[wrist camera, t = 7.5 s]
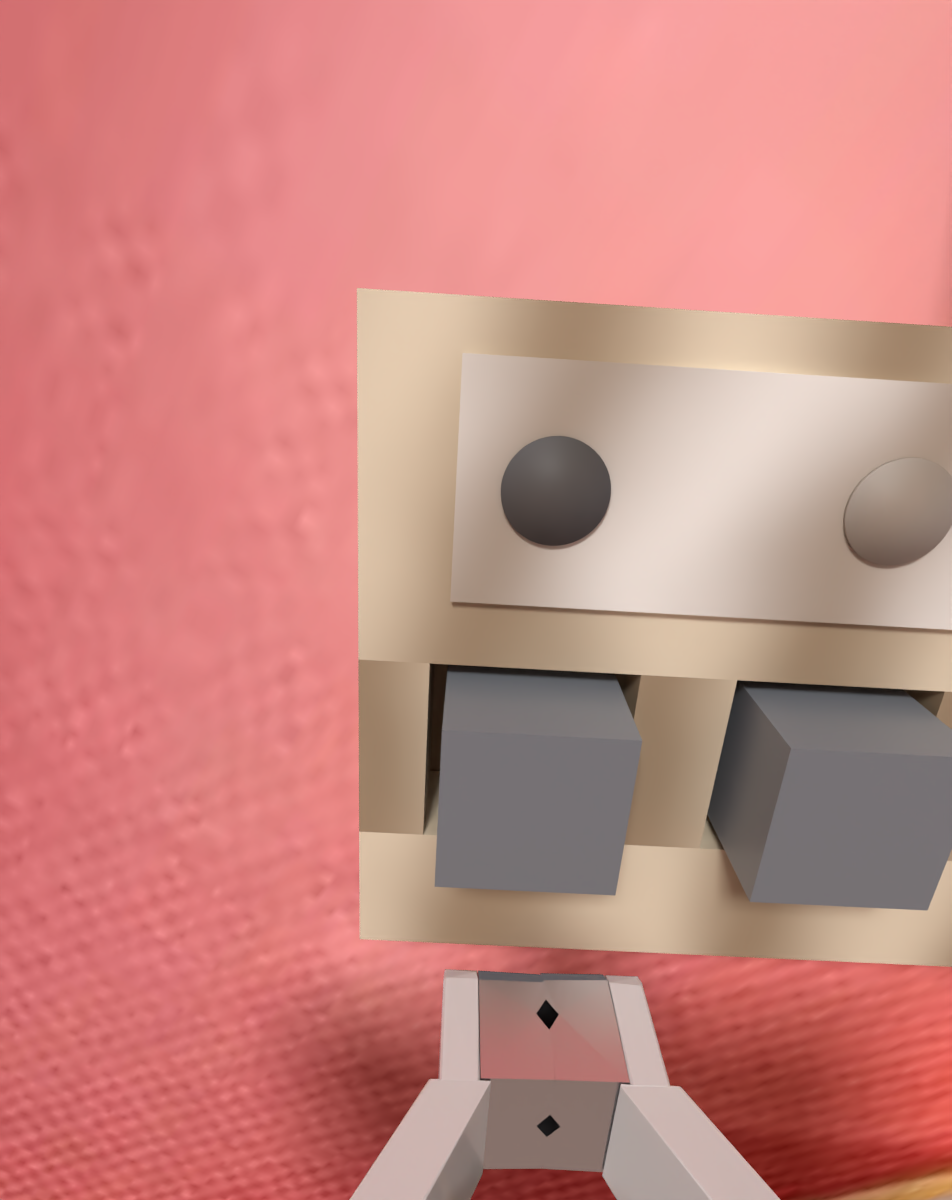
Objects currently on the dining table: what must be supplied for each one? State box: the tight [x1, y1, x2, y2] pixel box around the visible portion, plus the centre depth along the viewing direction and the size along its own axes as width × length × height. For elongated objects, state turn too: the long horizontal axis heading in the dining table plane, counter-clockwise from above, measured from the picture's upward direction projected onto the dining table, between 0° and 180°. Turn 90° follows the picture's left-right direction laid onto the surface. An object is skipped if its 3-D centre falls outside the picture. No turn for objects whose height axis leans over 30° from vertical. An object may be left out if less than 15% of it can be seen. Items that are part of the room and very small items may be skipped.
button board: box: [357, 288, 952, 967], centre depth 17 cm, size 22×16×4 cm
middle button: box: [707, 680, 952, 910], centre depth 16 cm, size 4×4×3 cm
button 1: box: [435, 664, 642, 895], centre depth 15 cm, size 4×4×3 cm
